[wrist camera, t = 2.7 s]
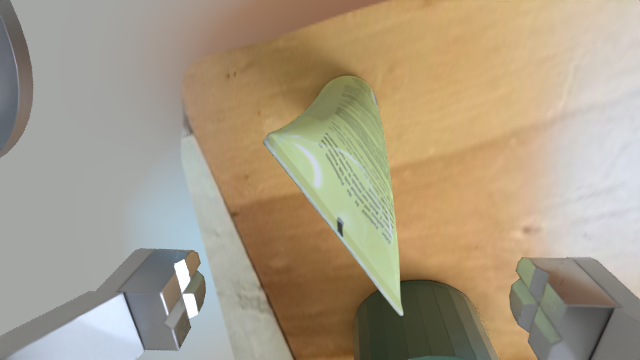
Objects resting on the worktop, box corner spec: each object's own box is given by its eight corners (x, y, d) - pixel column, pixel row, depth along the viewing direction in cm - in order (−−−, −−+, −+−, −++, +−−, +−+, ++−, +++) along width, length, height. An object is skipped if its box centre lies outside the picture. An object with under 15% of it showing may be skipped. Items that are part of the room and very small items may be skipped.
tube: (304, 124, 29) (238, 281, 11) (317, 64, 26) (261, 140, 9) (367, 139, 29) (402, 318, 11) (385, 82, 27) (464, 189, 9)
